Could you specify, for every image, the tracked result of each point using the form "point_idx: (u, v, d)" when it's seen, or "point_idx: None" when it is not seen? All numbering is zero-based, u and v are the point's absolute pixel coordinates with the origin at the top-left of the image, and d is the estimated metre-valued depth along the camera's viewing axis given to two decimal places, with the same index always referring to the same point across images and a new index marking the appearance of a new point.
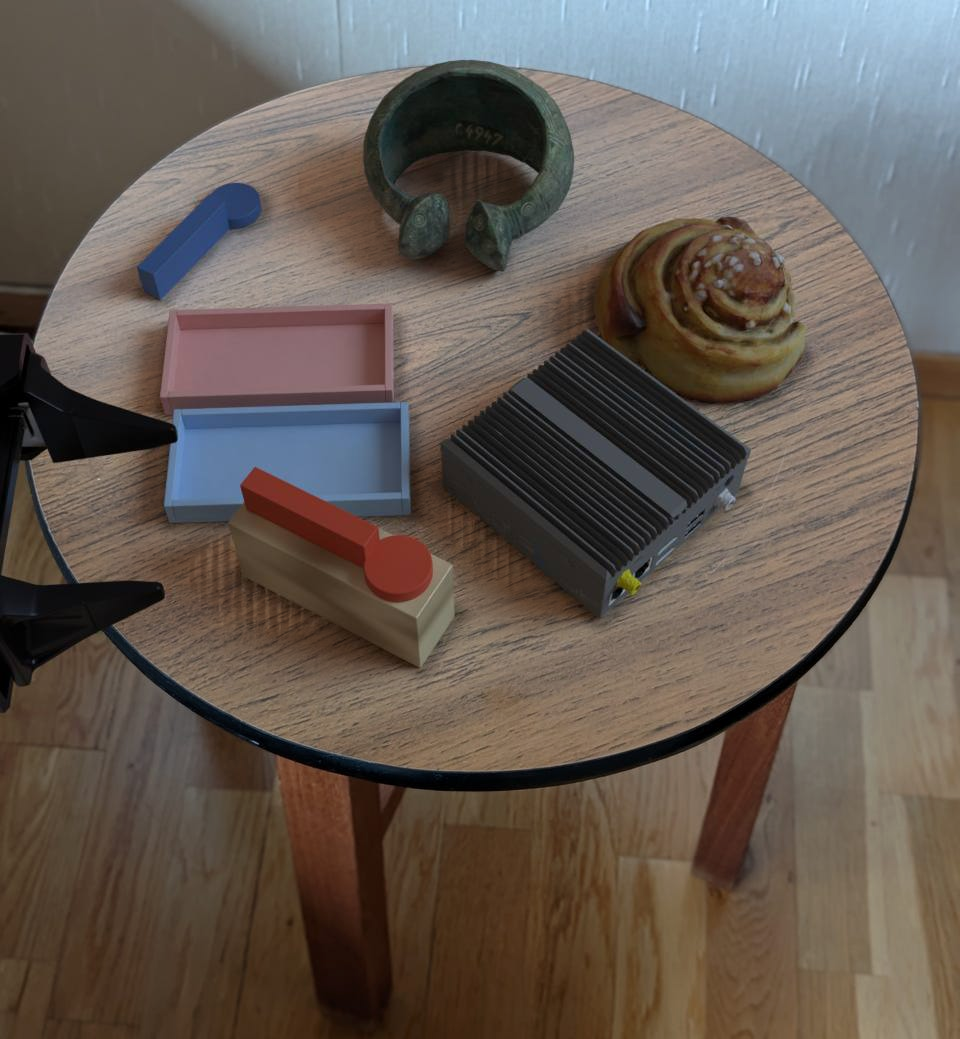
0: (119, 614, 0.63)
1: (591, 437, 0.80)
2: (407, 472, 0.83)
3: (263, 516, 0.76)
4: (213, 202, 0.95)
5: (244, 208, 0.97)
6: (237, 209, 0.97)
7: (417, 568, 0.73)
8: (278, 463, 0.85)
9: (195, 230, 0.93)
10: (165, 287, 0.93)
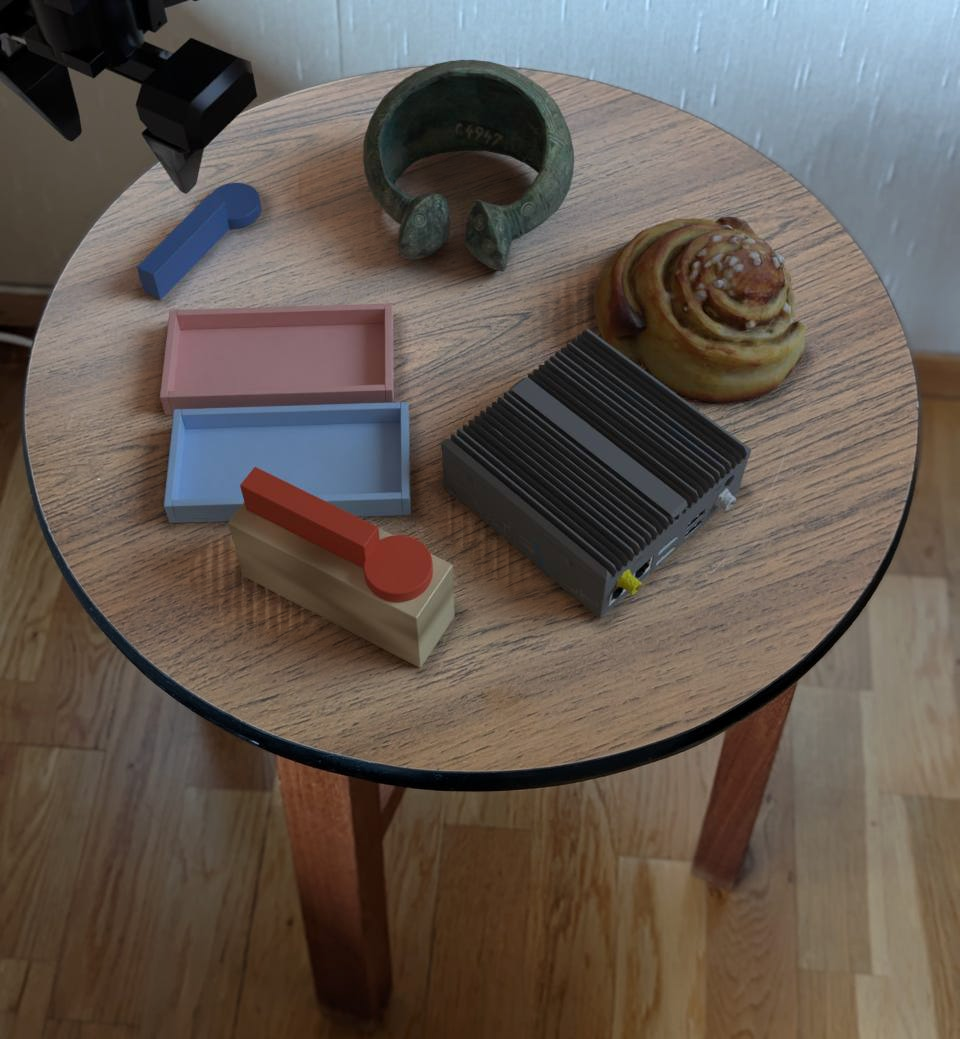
0: (186, 174, 0.81)
1: (591, 437, 0.80)
2: (407, 472, 0.83)
3: (263, 516, 0.76)
4: (213, 202, 0.95)
5: (244, 208, 0.97)
6: (237, 209, 0.97)
7: (417, 568, 0.73)
8: (278, 463, 0.85)
9: (195, 230, 0.93)
10: (165, 287, 0.93)
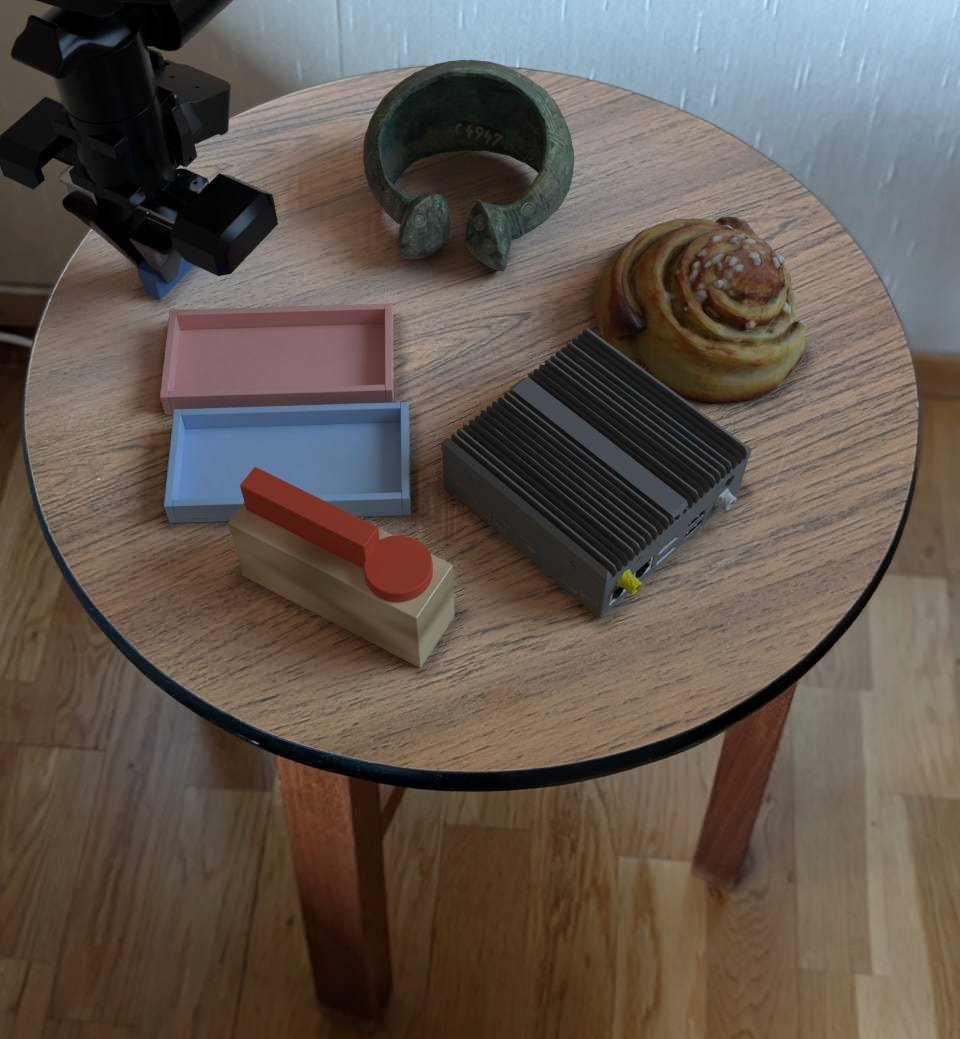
0: (168, 268, 0.90)
1: (592, 437, 0.80)
2: (407, 472, 0.83)
3: (263, 516, 0.76)
4: None
5: None
6: None
7: (417, 568, 0.73)
8: (278, 463, 0.85)
9: None
10: (165, 287, 0.93)
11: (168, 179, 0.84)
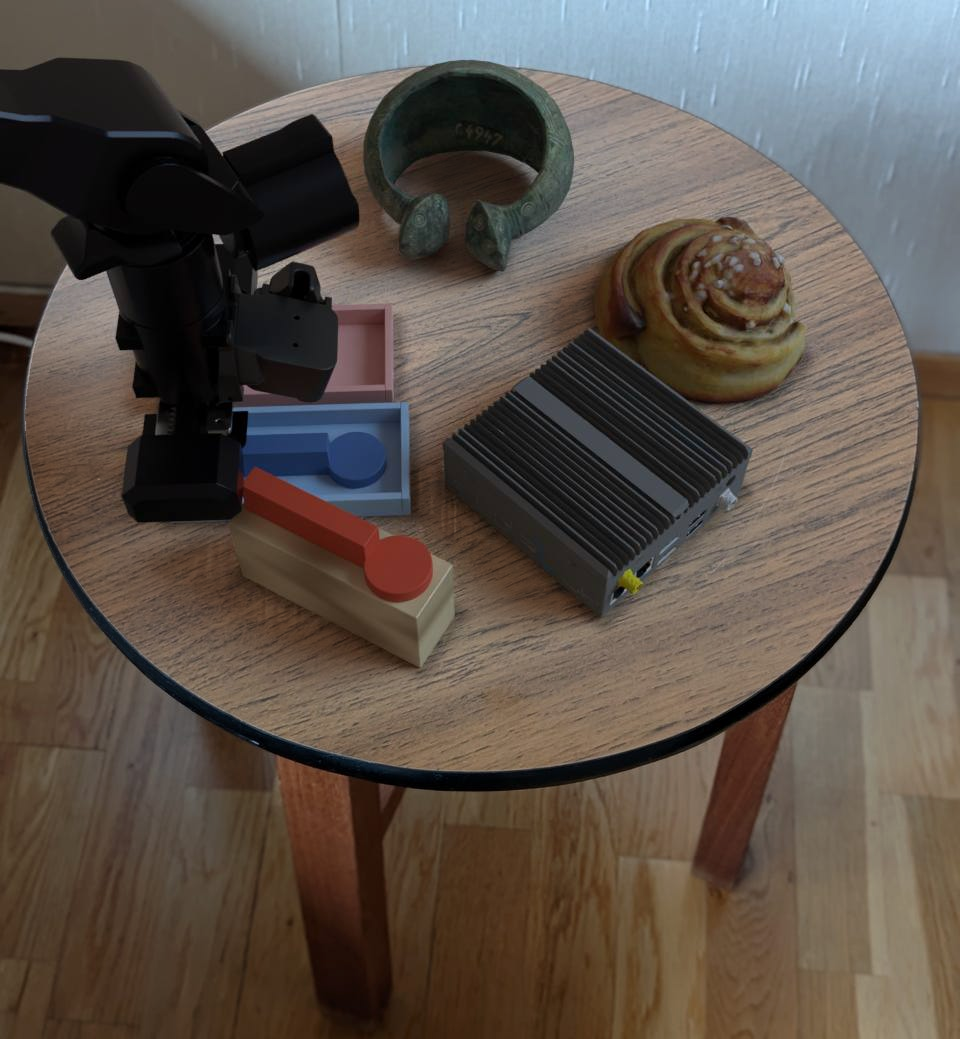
0: None
1: (593, 436, 0.80)
2: (407, 472, 0.83)
3: (263, 516, 0.76)
4: (319, 442, 0.83)
5: (350, 470, 0.83)
6: (345, 466, 0.84)
7: (417, 568, 0.73)
8: None
9: (272, 451, 0.82)
10: None
11: (191, 399, 0.74)
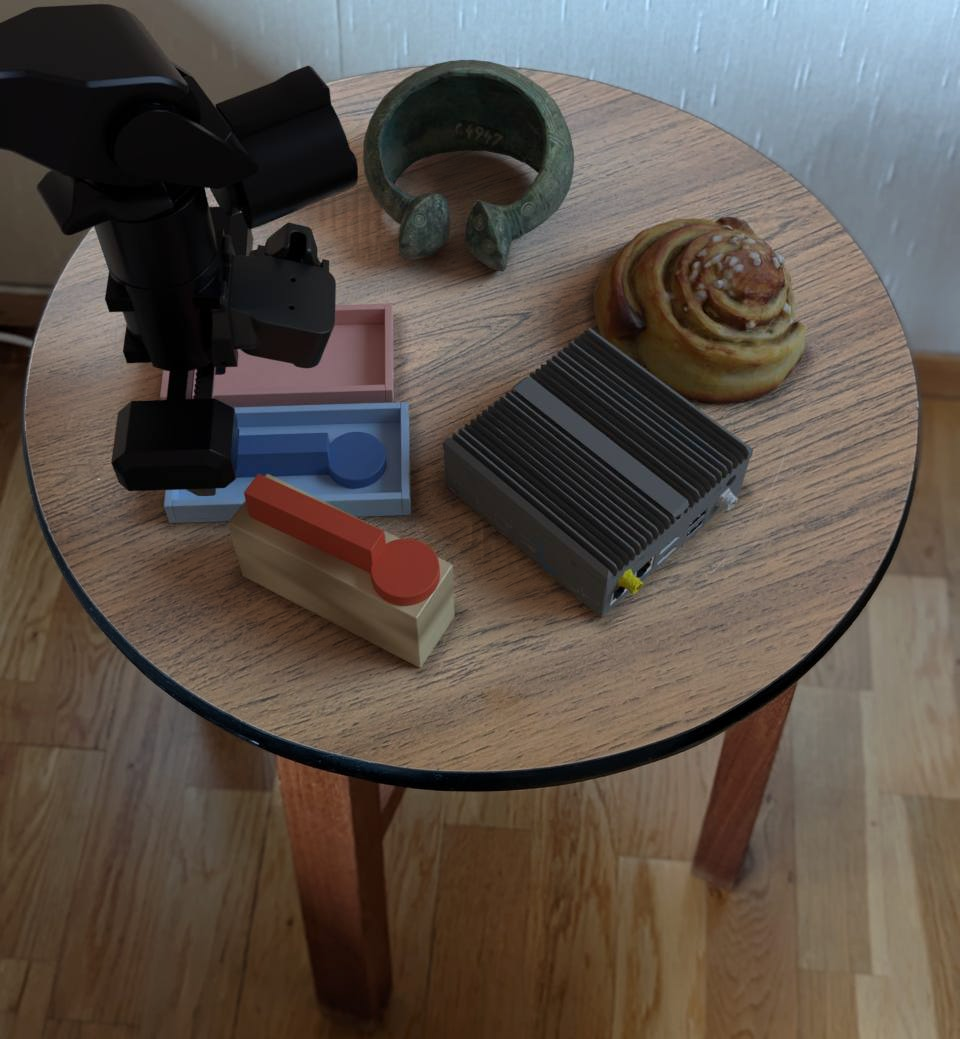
0: None
1: (593, 436, 0.80)
2: (407, 472, 0.83)
3: (267, 523, 0.76)
4: (319, 442, 0.83)
5: (350, 470, 0.83)
6: (345, 466, 0.84)
7: (424, 571, 0.73)
8: None
9: (272, 451, 0.82)
10: None
11: (183, 364, 0.72)
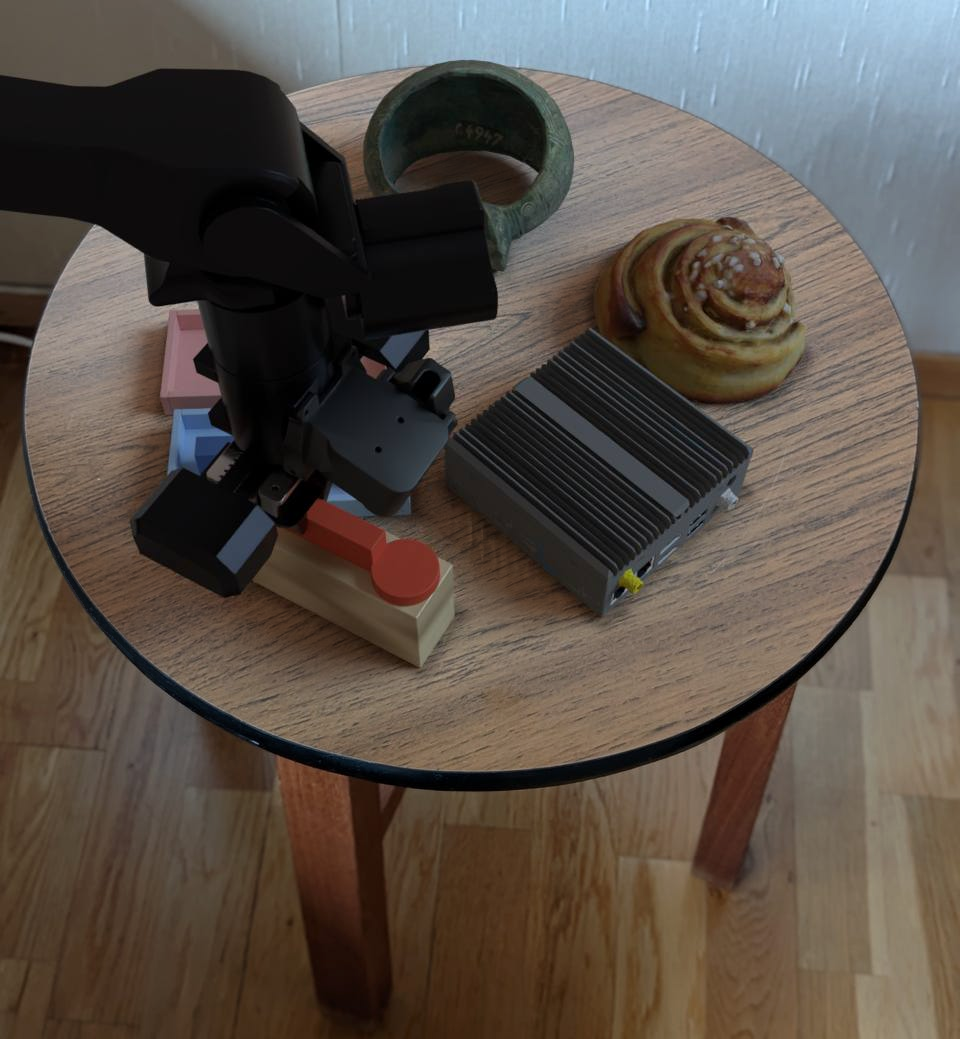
0: None
1: (594, 436, 0.80)
2: None
3: None
4: None
5: None
6: None
7: (424, 572, 0.73)
8: None
9: None
10: None
11: (257, 453, 0.65)
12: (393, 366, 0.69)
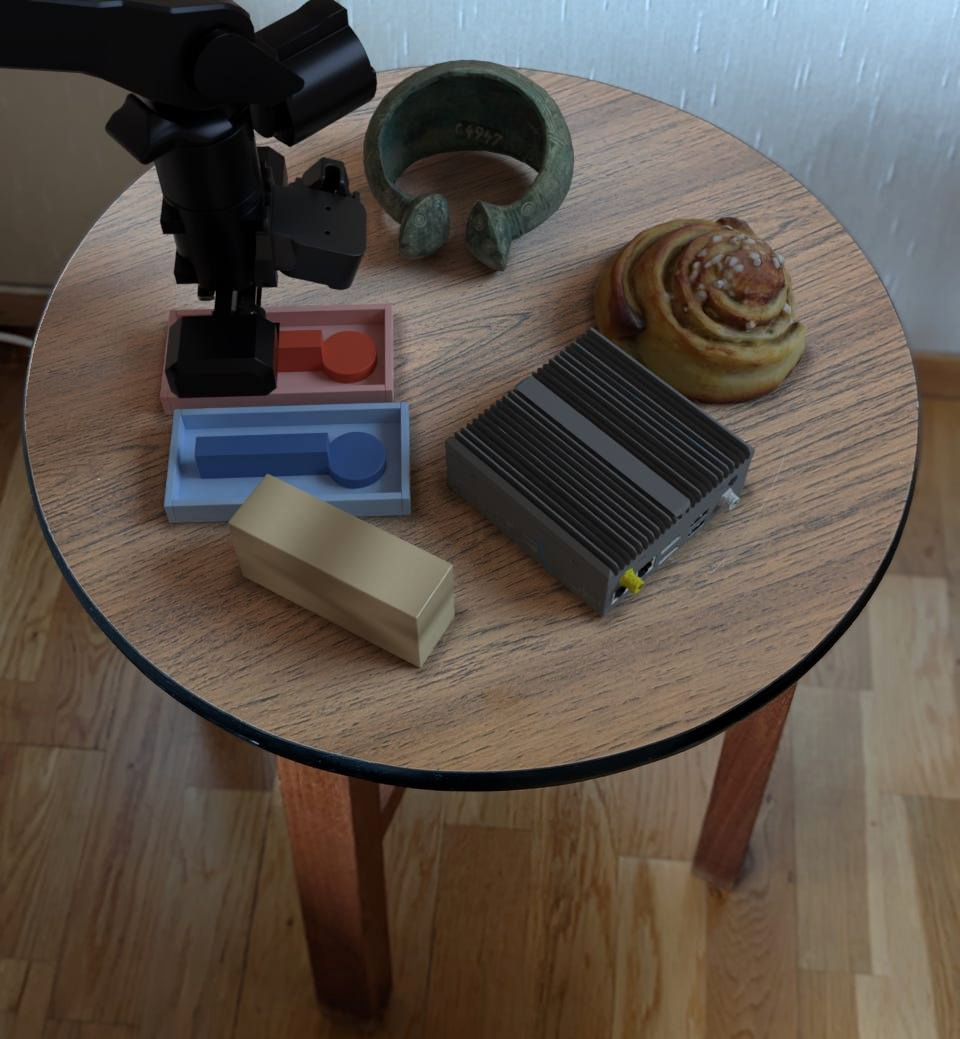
0: None
1: (595, 436, 0.80)
2: (407, 472, 0.83)
3: None
4: (319, 442, 0.83)
5: (350, 470, 0.83)
6: (345, 466, 0.84)
7: (364, 348, 0.89)
8: None
9: (272, 451, 0.82)
10: (211, 473, 0.84)
11: (228, 284, 0.79)
12: None
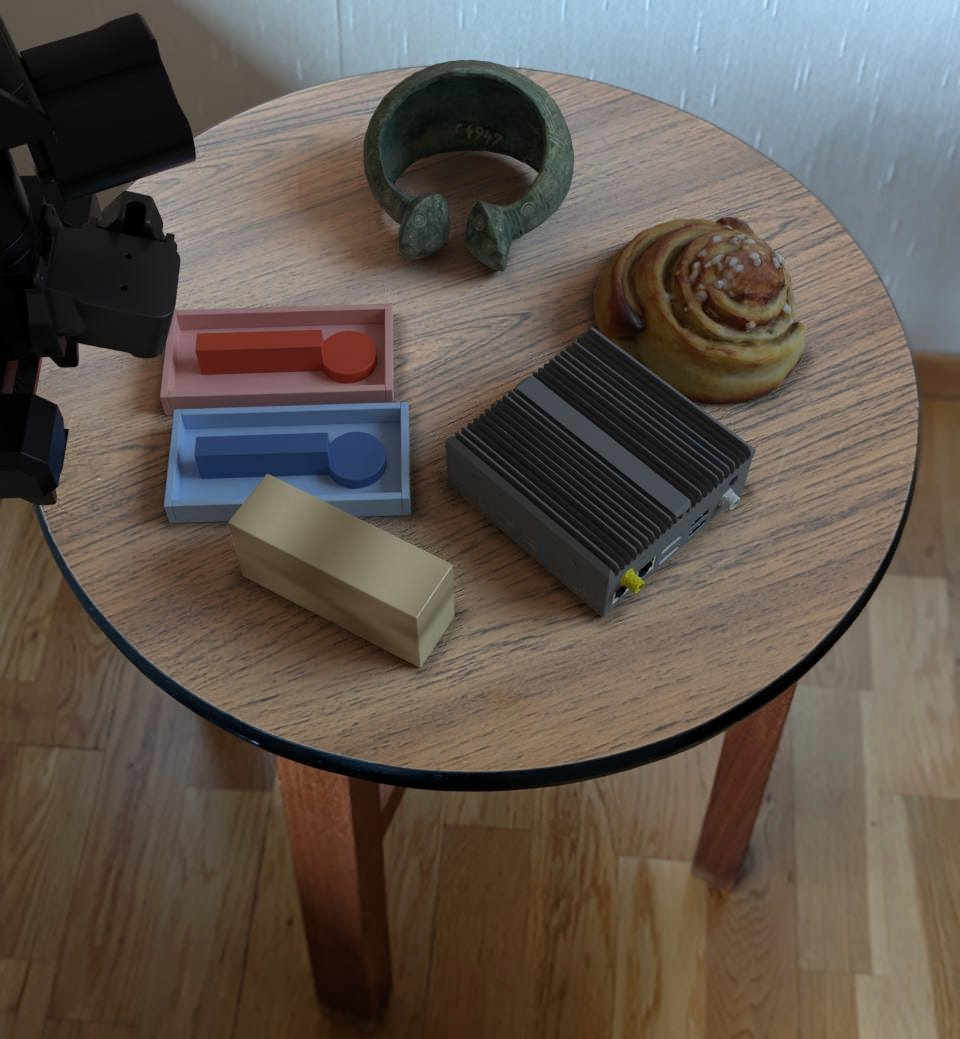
0: None
1: (596, 436, 0.80)
2: (407, 472, 0.83)
3: (220, 372, 0.89)
4: (319, 442, 0.83)
5: (350, 470, 0.83)
6: (345, 466, 0.84)
7: (364, 348, 0.89)
8: None
9: (272, 451, 0.82)
10: (211, 473, 0.84)
11: (1, 353, 0.62)
12: None
